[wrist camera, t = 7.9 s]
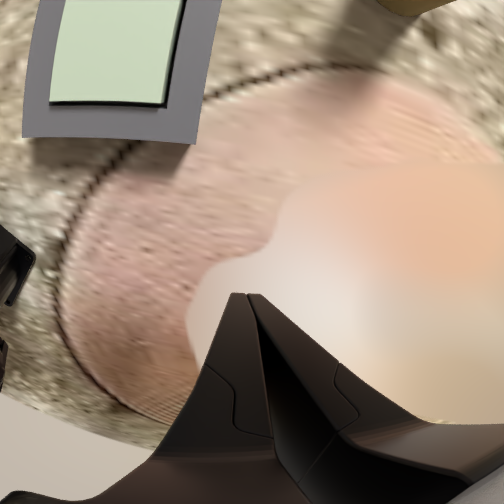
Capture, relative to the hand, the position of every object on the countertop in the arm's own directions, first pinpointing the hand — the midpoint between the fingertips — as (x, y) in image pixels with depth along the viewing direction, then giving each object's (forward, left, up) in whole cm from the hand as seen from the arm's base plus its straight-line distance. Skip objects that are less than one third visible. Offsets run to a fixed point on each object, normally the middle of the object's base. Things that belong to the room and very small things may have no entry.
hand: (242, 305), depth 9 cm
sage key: (+3, +10, -12) cm, 16 cm away
